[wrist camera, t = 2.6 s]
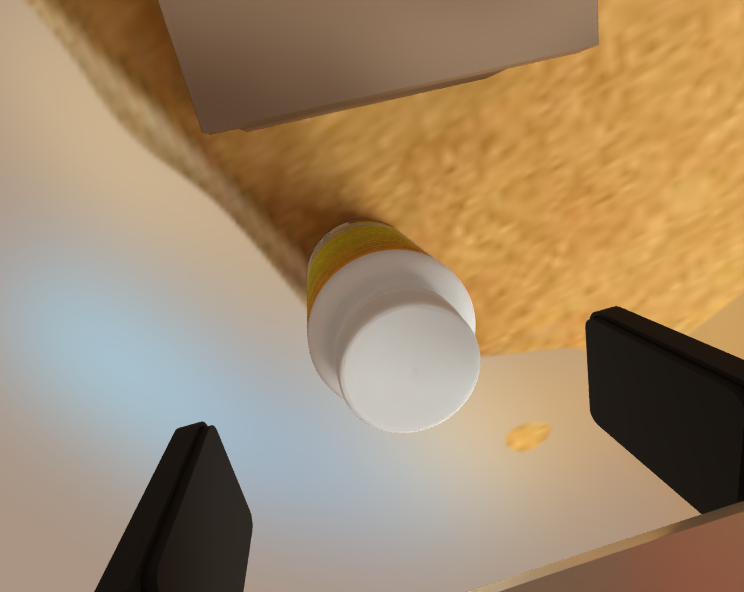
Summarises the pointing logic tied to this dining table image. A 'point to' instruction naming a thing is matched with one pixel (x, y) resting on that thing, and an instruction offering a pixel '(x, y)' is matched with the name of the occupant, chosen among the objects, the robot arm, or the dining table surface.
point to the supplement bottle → (390, 327)
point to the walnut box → (355, 50)
